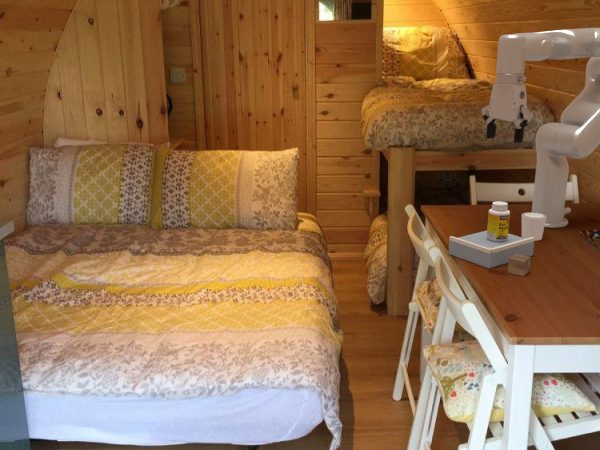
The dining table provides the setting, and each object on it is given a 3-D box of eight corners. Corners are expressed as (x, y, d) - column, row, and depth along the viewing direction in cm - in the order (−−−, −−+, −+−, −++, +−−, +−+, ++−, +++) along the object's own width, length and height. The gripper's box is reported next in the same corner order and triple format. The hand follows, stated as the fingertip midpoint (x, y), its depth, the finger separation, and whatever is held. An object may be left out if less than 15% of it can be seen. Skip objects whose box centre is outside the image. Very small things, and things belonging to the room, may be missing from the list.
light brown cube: (513, 268, 166) (515, 253, 165) (529, 272, 163) (530, 257, 162) (507, 273, 163) (509, 258, 162) (523, 276, 160) (524, 261, 159)
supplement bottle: (497, 243, 172) (501, 206, 169) (482, 238, 177) (484, 202, 174) (512, 240, 175) (515, 203, 172) (496, 234, 180) (499, 199, 177)
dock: (491, 242, 186) (493, 225, 185) (532, 255, 175) (534, 237, 174) (448, 253, 177) (449, 236, 175) (489, 268, 166) (490, 250, 164)
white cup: (515, 237, 190) (517, 215, 188) (525, 232, 195) (527, 210, 193) (538, 242, 186) (540, 219, 184) (547, 237, 190) (550, 214, 188)
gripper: (544, 81, 177) (537, 142, 182) (493, 77, 190) (488, 135, 195) (526, 82, 173) (520, 145, 178) (476, 78, 186) (472, 137, 191)
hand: (504, 140), depth 186 cm, fingers open, 9 cm apart
